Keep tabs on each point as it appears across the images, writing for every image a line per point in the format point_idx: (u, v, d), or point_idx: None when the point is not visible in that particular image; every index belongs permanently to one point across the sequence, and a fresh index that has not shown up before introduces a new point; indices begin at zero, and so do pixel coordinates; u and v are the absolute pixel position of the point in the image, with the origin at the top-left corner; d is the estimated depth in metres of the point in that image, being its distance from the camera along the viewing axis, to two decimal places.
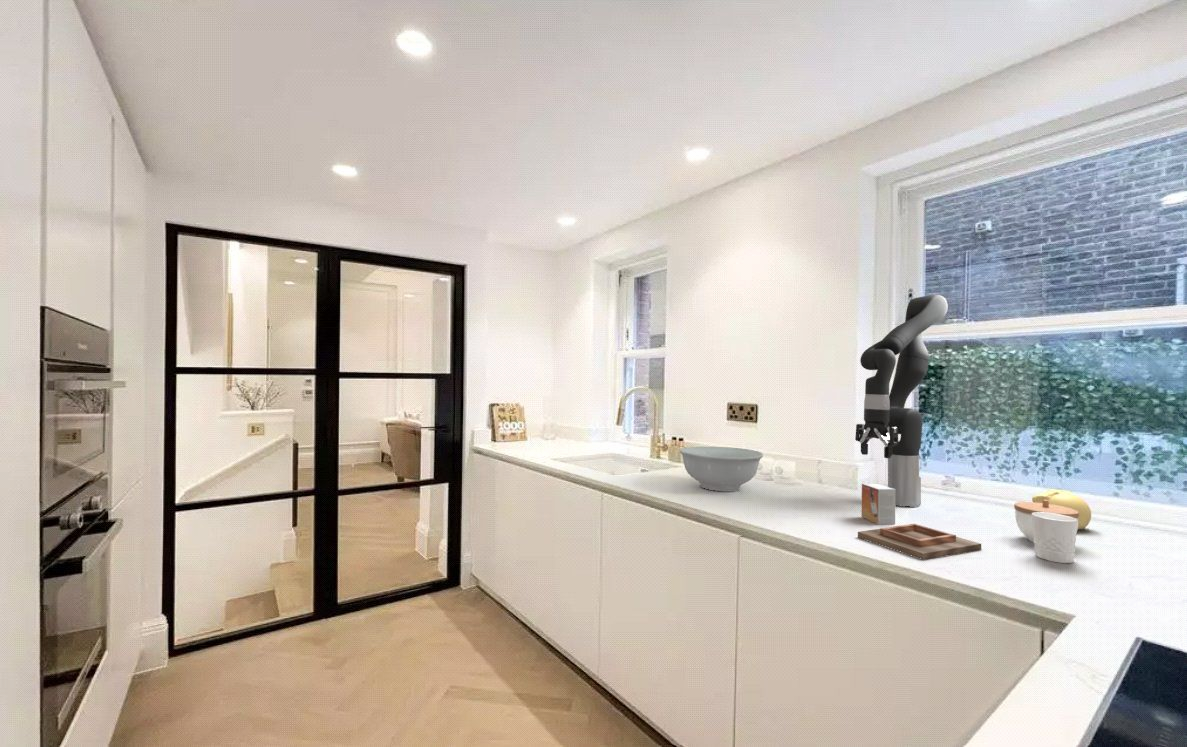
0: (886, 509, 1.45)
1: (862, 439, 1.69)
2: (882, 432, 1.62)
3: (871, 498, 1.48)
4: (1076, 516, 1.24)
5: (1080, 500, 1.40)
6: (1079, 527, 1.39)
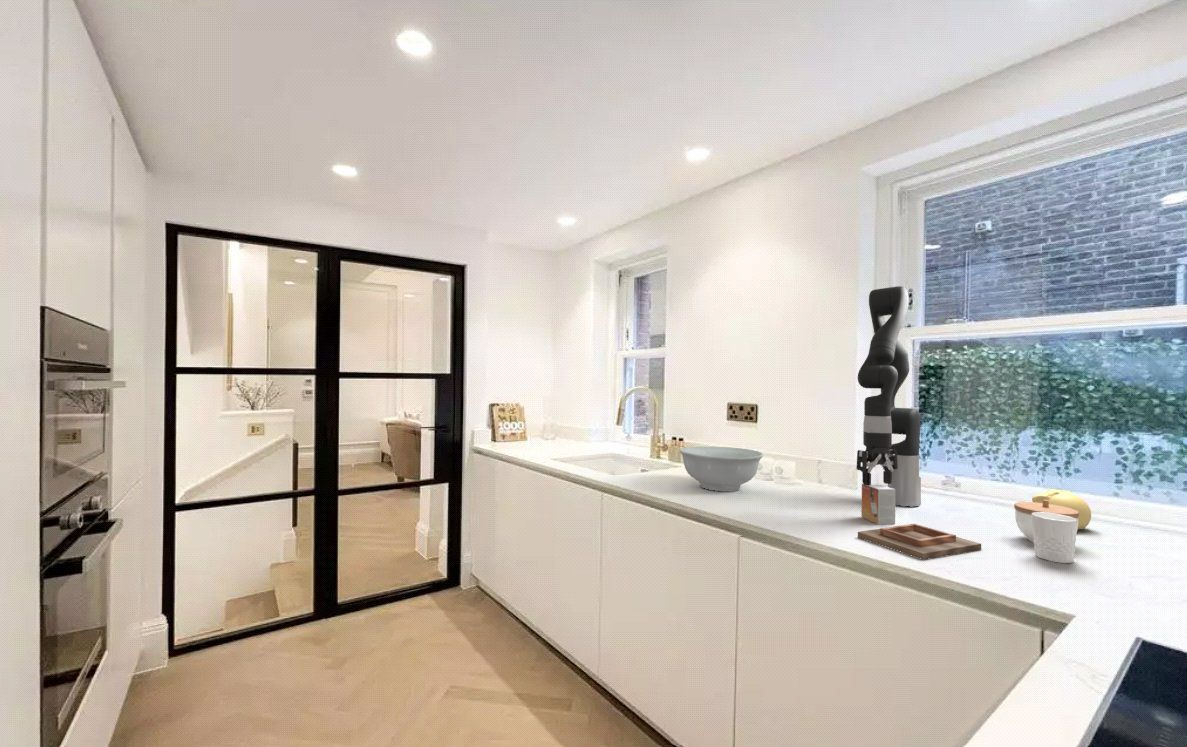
0: (886, 509, 1.45)
1: (870, 468, 1.47)
2: (887, 457, 1.50)
3: (871, 498, 1.48)
4: (1076, 516, 1.24)
5: (1080, 500, 1.40)
6: (1079, 527, 1.39)
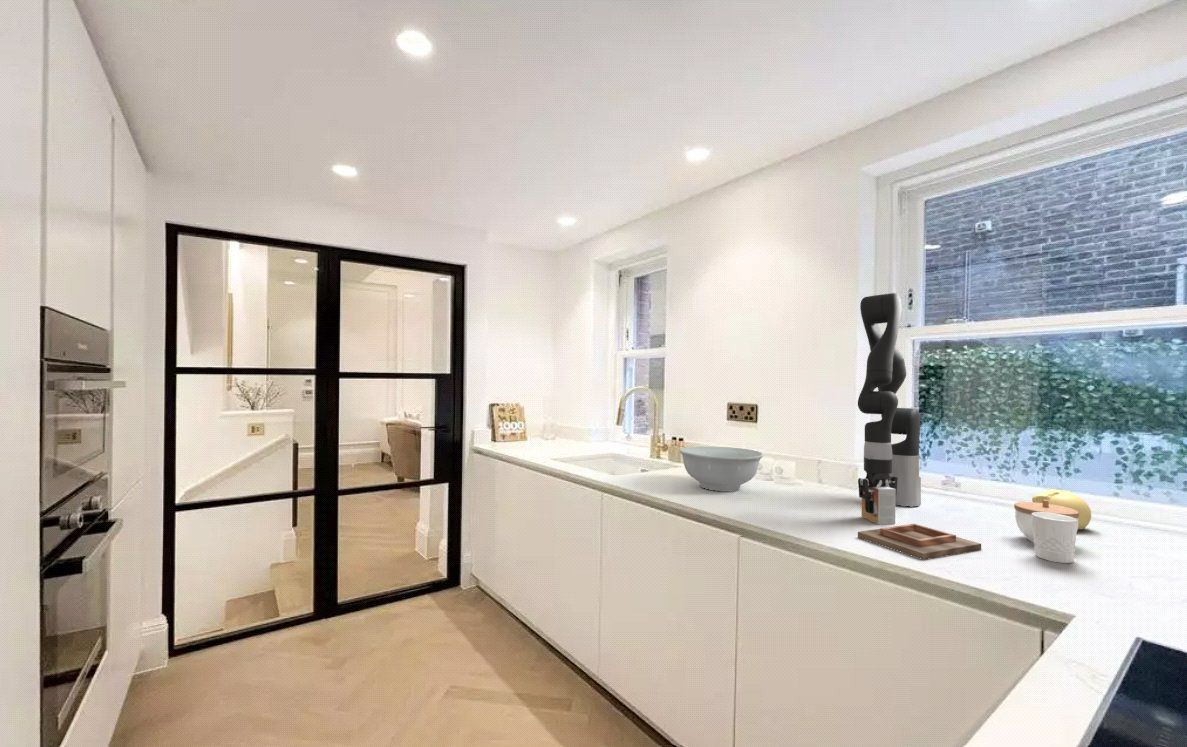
0: (886, 509, 1.45)
1: (873, 496, 1.47)
2: None
3: None
4: (1076, 516, 1.24)
5: (1080, 500, 1.40)
6: (1079, 527, 1.39)
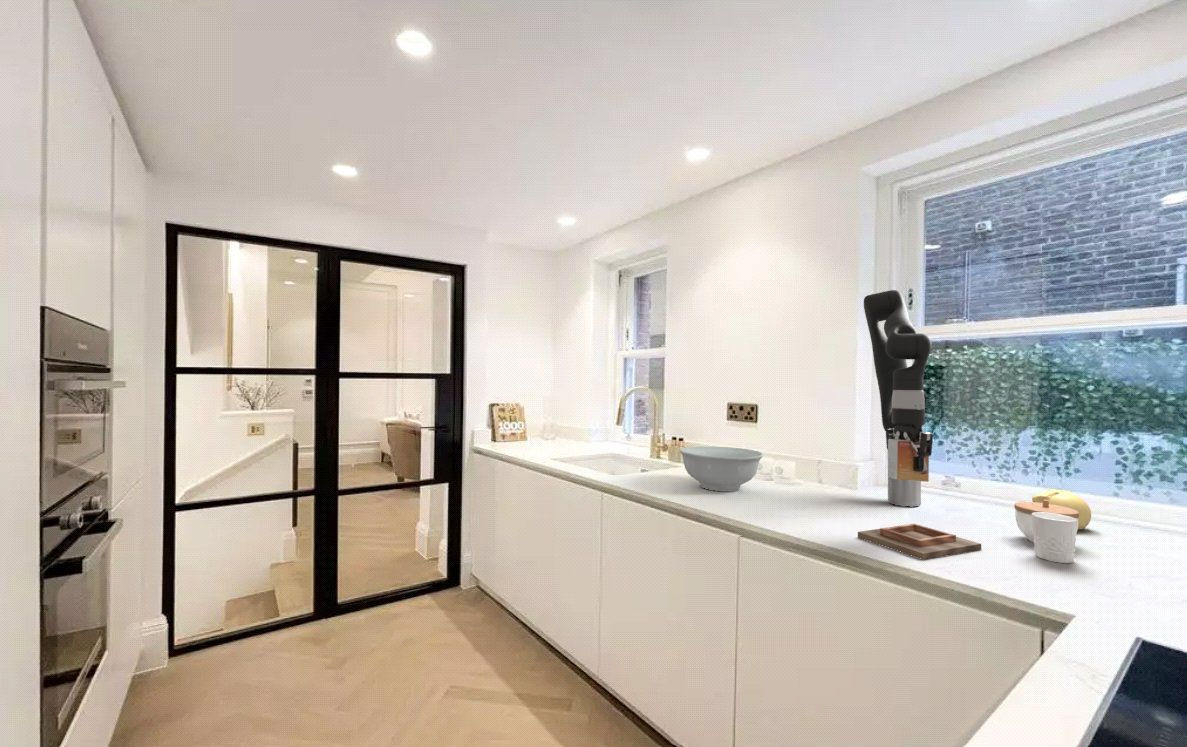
0: None
1: None
2: None
3: None
4: (1076, 516, 1.24)
5: (1080, 500, 1.40)
6: (1079, 527, 1.39)
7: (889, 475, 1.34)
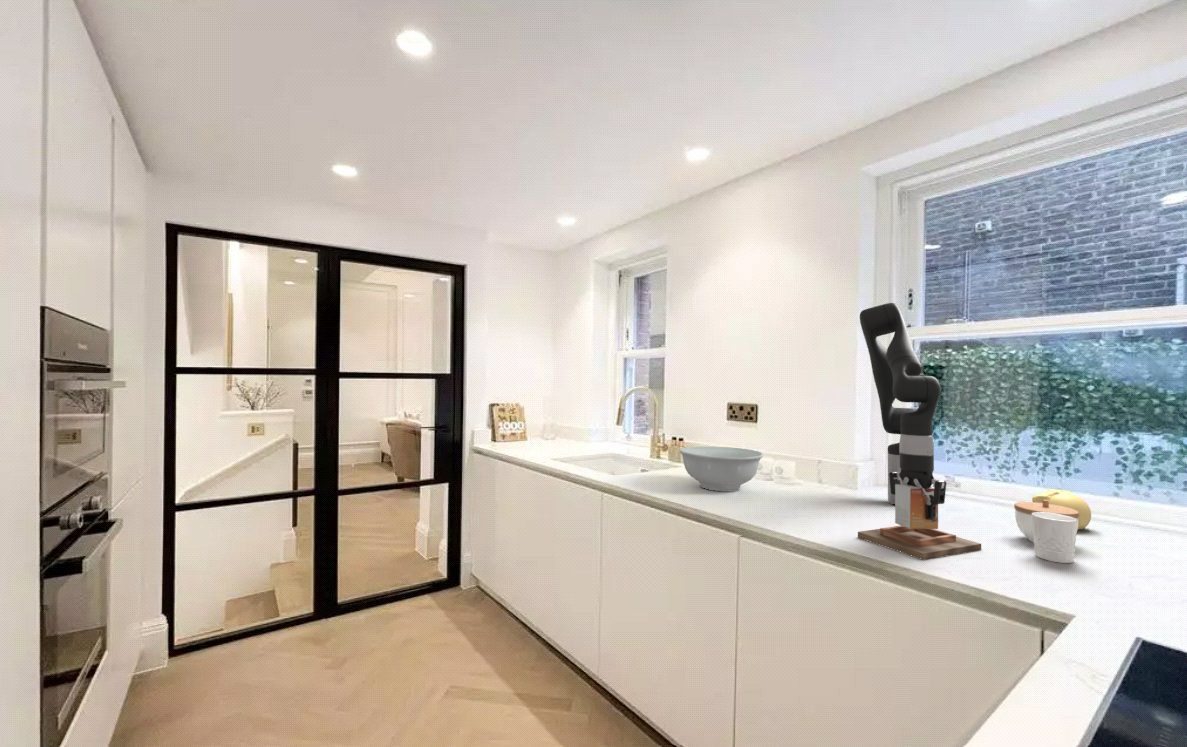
0: None
1: None
2: None
3: None
4: (1076, 516, 1.24)
5: (1080, 500, 1.40)
6: (1079, 527, 1.39)
7: (898, 522, 1.29)
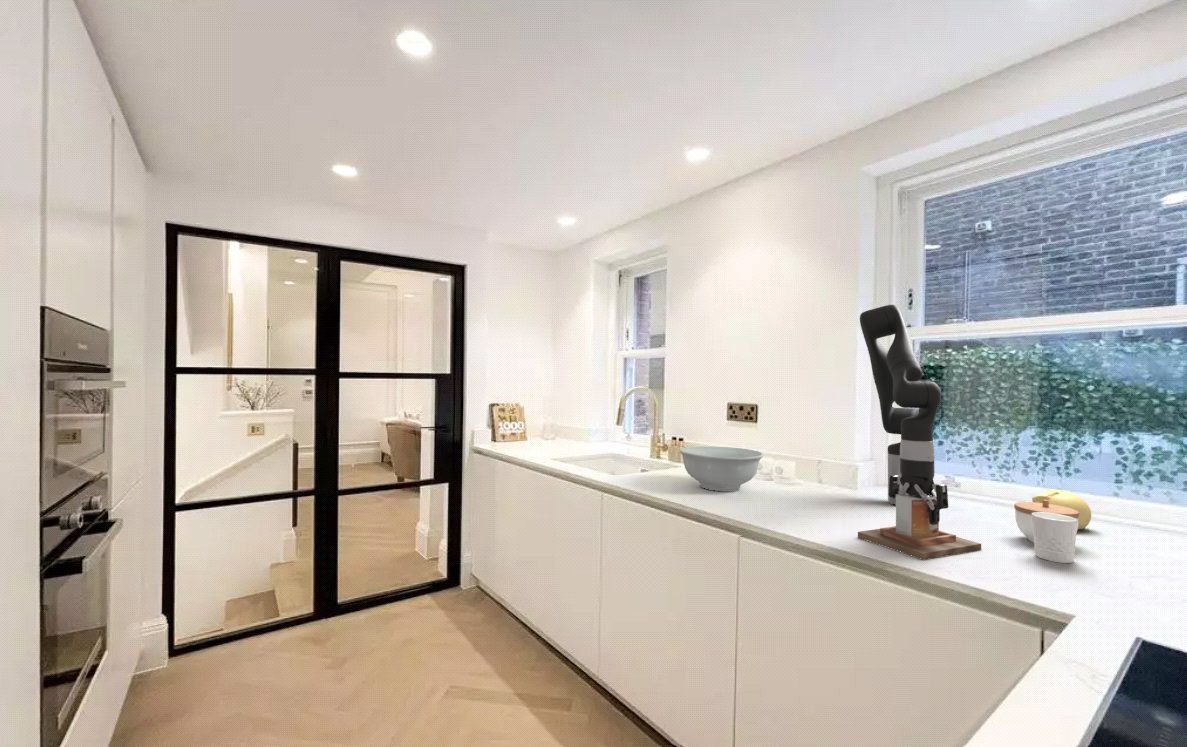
0: None
1: None
2: None
3: None
4: (1076, 516, 1.24)
5: (1080, 500, 1.40)
6: (1079, 527, 1.39)
7: None
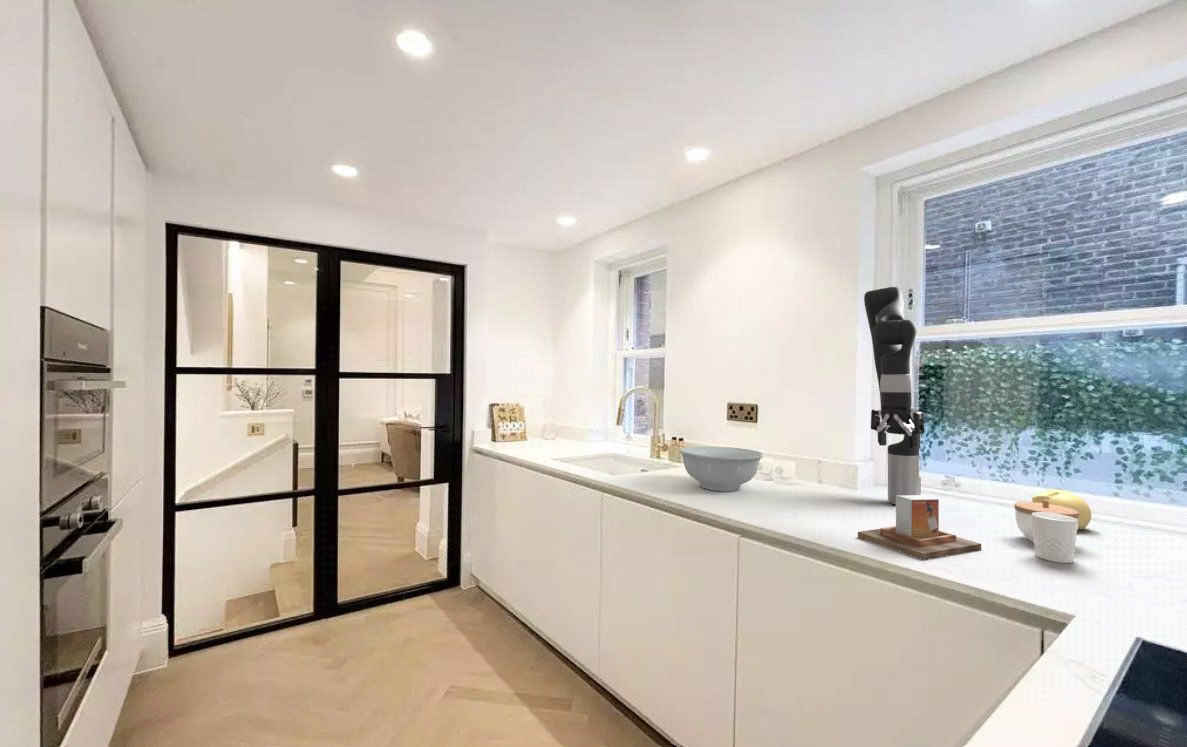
0: None
1: None
2: None
3: (929, 512, 1.26)
4: (1076, 516, 1.24)
5: (1080, 500, 1.40)
6: (1079, 527, 1.39)
7: None
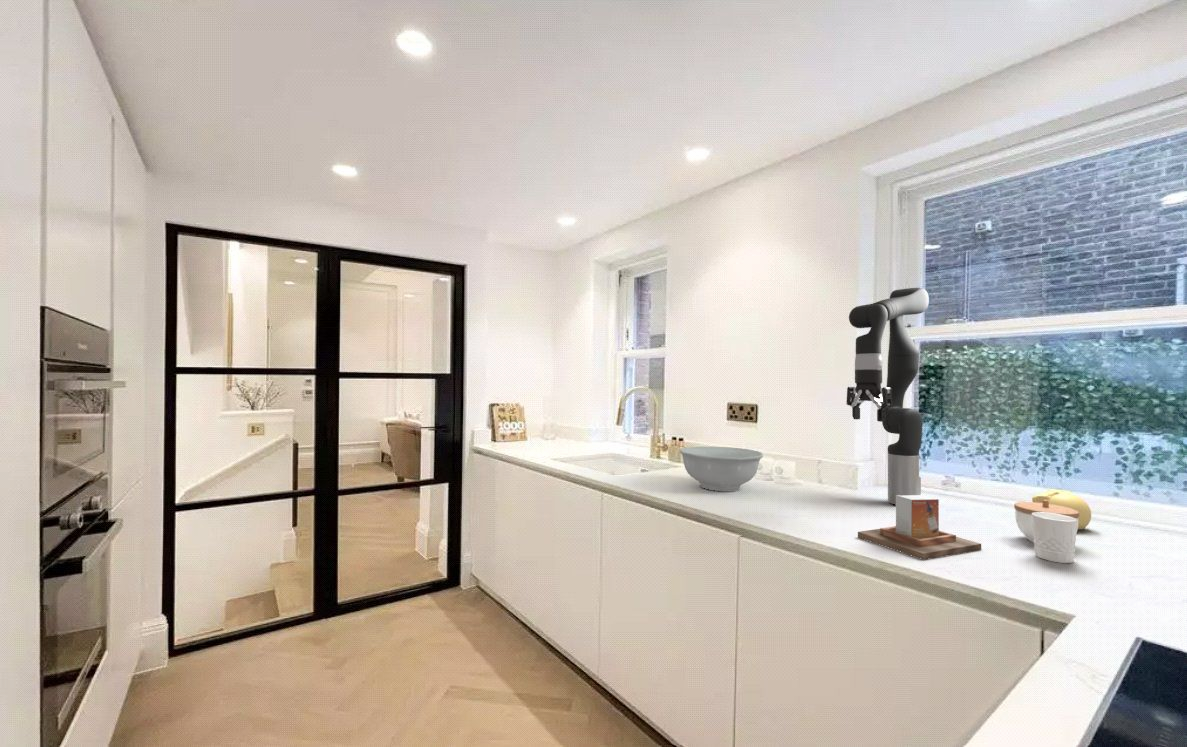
0: None
1: None
2: None
3: (929, 512, 1.26)
4: (1076, 516, 1.24)
5: (1080, 500, 1.40)
6: (1079, 527, 1.39)
7: None
